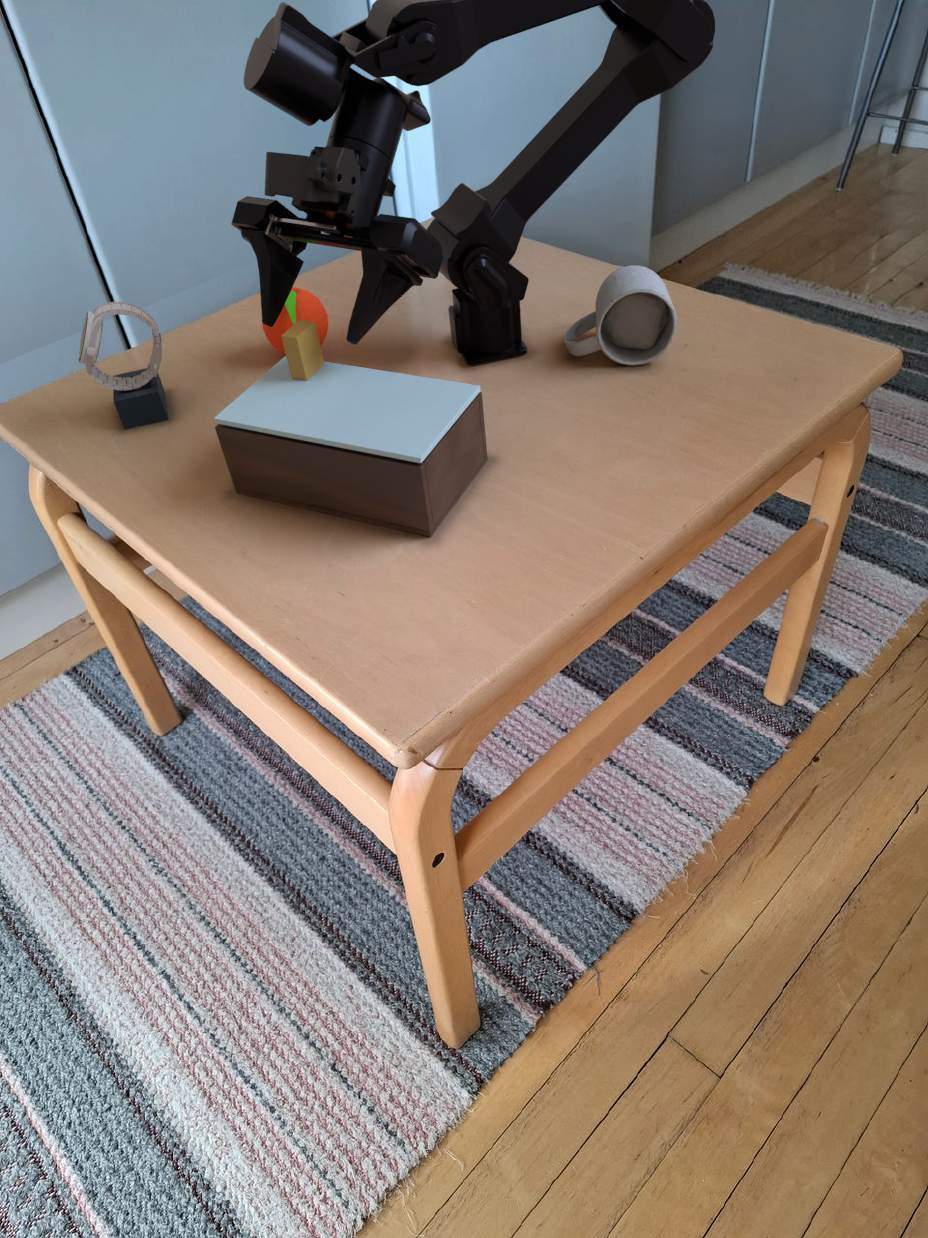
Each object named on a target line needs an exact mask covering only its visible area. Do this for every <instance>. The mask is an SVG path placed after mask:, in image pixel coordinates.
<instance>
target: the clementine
mask: <svg viewBox="0 0 928 1238" xmlns="http://www.w3.org/2000/svg"><path fill="white" fill-rule="evenodd" d="M299 320H304V321H311V322H315V323H316V328H317V332H318V337H319V342H320V346H321V347H322V345H323V343H324V341H325V340H326V338H327V336H328V332H329V315H328V313H327V310H326V308H325V306H324V304H323V302H321V299H319V298H318V297H317V296H316V295H315V294H313V293H312V292H310V291H309V290H306V289H304V288H300V287H294V286H293V287H292V289H291V292H290V294H289V296H288V298H287V300H286V303H285V305H284V307H283V309H282V311H281V313H280V315H279V317H278V319H277V320H276V322H275V324H274V325H273V327H268V326H266V325H265V324H263V322H262V321H261V324H262V330H263V333H264V335H265V337H266V340H267V341H268V342H269V344H270V345H271V347H273V348H274V349H275V350H277V351H278V352H280V353H281V354H283V355H286V353H285V349H284V345H283V341H282V337H281V336H282V335H283V334H284V333H285V332H286V331H288V330H289V329H290V328H291V327H292V326H294V325H295V324H296V323H297V322H298V321H299Z"/></svg>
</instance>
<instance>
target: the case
mask: <svg viewBox="0 0 928 1238" xmlns="http://www.w3.org/2000/svg"><path fill="white" fill-rule="evenodd" d="M214 429H215V433H216V435H217V438H218V442H219V445H220V449H221V451H222V454H223V456H224V457H223V458H224V460H225V463H226V466H227V469H228V472H229V476H230V478H231V481H232V484H233V487H234V491H235V493H236V494H239V495H244V496H247V497H251V498H252V497H253V498H257V499H261V500H266V501H269V502H275V503H279V504H284V505H289V506H292V507H296V508H301V509H305V510H310V511H314V512H318V513H321V514H322V513H323V514H326V515H331V516H335V517H340V518H345V519H350V520H353V521H358V522H361V523H362V522H363V523H368V524H372V525H375V526H379V527H385V528H389V529H392V530H398V531H402V532H406V533H411V534H415V535H420V536H424V537H428V538H431V537H433V535H434V533H435V532H436V531H437V529H438V528H439V527H440V526H441V524H442V523H443V522H444V520H445V519H446V517H447V516H448V515H449V514H450V512H451V511H452V509H453V508H454V506H455V505H456V504H457V503H458V501H459V500H460V499H461V497H462V496H463V494H464V493H465V491H466V490H467V489H468V488H469V486H470V485H471V484H472V482H473V481H474V480H475V478H476V476H478V474H479V473H480V471H481V470H482V468H483V467H484V466H485V465H486V464H487V462H488V460H489V458H488V446H487V436H486V423H485V413H484V401H483V392H482V391H480V392H479V394H478V395H477V396H476V397H475V398H474V400H473V401H472V402H471V403H470V405H469V406H468V407H467V408H466V409H465V411H464V412H463V413H462V414H461V415H460V417H459V418H458V419H457V420H456V422H455V423H454V424H453V425H452V426H451V428H450V429H449V430H448V431H447V433H446V434H445V435H444V436H443V437H442V439H441V440H440V441H439V442H438V444H437V445H436V446H435V447H434V448H433V450H432V451H431V452H430V453H429V455H428V456H427V457H426V458H425V459H424V461H423V462H422V463H416V462H411V461H406V460H401V459H396V458H391V457H386V456H380V455H375V454H370V453H365V452H360V451H355V450H350V449H345V448H339V447H334V446H329V445H324V444H319V443H314V442H309V441H304V440H298V439H293V438H288V437H283V436H278V435H273V434H268V433H263V432H258V431H252V430H247V429H242V428H237V427H232V426H227V425H222V424H217V423H216V424H215V426H214Z"/></svg>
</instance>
